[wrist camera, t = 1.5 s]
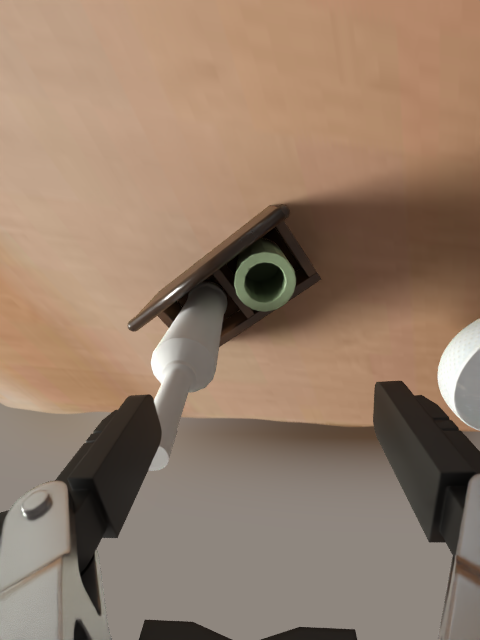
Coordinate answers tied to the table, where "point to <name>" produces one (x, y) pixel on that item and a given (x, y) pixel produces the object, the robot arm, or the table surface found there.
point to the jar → (264, 276)
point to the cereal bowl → (462, 375)
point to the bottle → (186, 359)
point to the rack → (229, 275)
